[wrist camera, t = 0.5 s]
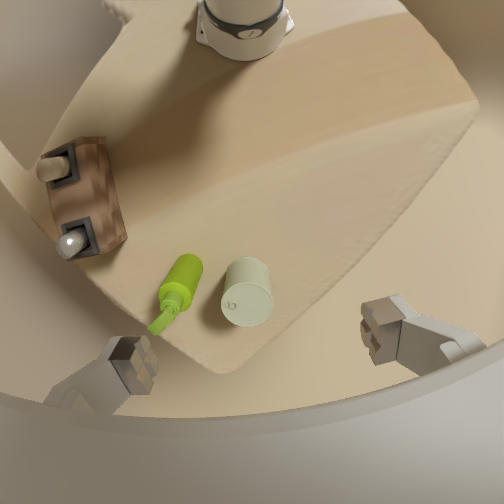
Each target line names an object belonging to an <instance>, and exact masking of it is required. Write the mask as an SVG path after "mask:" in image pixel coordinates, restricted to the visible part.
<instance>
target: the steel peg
mask: <svg viewBox="0 0 504 504" xmlns="http://www.w3.org/2000/svg"><path fill="white" fill-rule="evenodd" d="M89 244H90V241H89V238H88V234H87V231H86V227H85V224H84V225H81V226H80V227H78V228H76V229H74V230H72V231H71V232H69V233H67V234H66V235H64V236H62V237H60V238H59V239H58V240H57V242H56V249H57V252H58V254H59V255H60V256H61V257H62V258H64V259H69V258H71V257H72V256H73V255H75V254H76V253H78V252H79V251H80V250H82V249H83V248H85V247H86V246H87V245H89Z"/></svg>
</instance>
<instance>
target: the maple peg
mask: <svg viewBox="0 0 504 504" xmlns="http://www.w3.org/2000/svg"><path fill="white" fill-rule="evenodd" d="M71 175H72V170H71V165H70V160H69V155H67V156H60V157H53V158H46V159H42V160H41V161H40V162H39V163H38V165H37V176H38V178H39V180H40V181H42V182H47V181H51V180H55V179H59V178H63V177H67V176H71Z"/></svg>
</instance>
